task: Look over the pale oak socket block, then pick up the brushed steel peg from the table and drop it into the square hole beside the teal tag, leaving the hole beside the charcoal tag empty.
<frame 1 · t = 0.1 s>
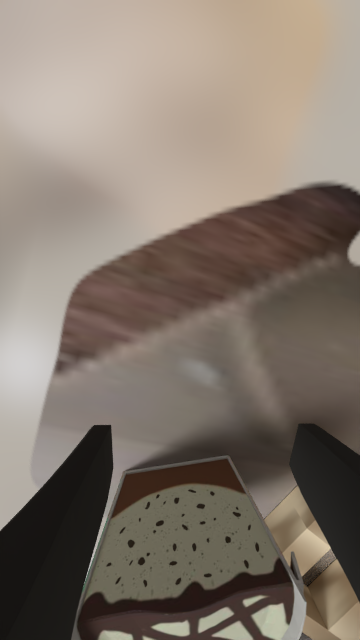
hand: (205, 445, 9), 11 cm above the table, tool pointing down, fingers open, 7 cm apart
socket block: (354, 574, 24), on the table
food container: (180, 491, 21), on the table
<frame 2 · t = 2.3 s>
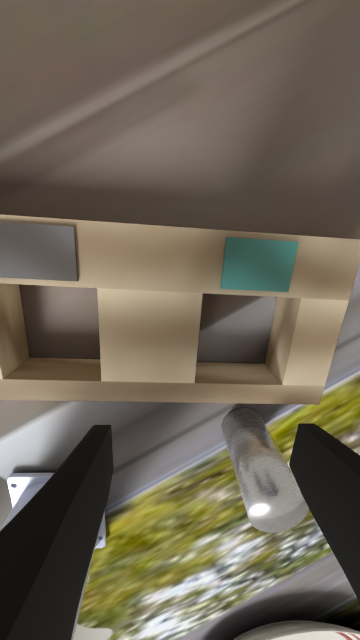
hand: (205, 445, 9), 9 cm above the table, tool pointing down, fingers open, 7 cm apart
socket block: (152, 310, 17), on the table
steel peg: (241, 425, 20), on the table
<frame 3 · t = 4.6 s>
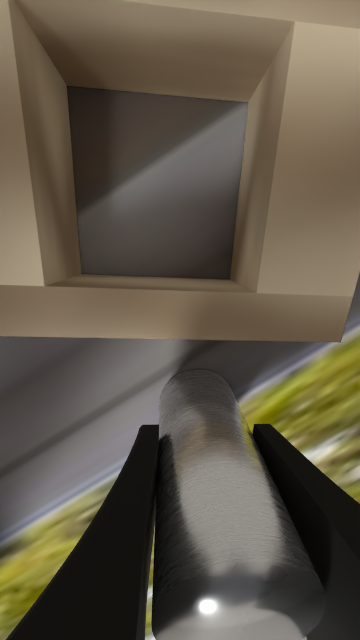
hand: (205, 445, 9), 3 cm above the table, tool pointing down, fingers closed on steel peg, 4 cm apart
steel peg: (196, 402, 11), on the table, touching gripper
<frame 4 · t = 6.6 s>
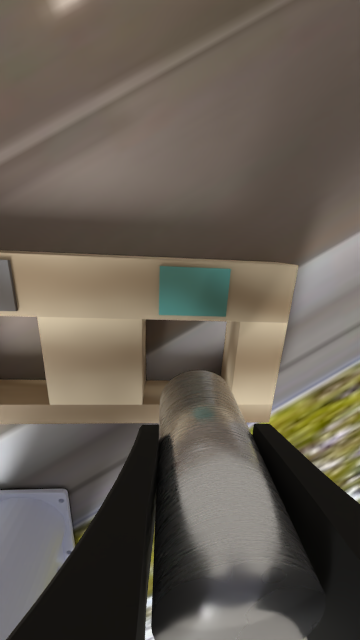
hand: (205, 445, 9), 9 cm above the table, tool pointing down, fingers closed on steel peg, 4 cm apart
socket block: (104, 332, 17), on the table
steel peg: (196, 402, 11), point 7 cm above the table, touching gripper
when the fingers open (4 cm above the table, at t = 8.7 s): steel peg drops 1 cm, resting in socket block.
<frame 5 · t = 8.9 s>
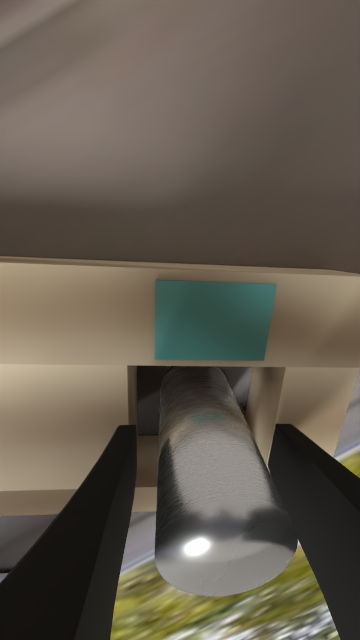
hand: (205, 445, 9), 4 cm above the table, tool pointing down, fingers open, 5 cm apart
socket block: (76, 371, 12), on the table
steel peg: (194, 389, 13), resting in socket block
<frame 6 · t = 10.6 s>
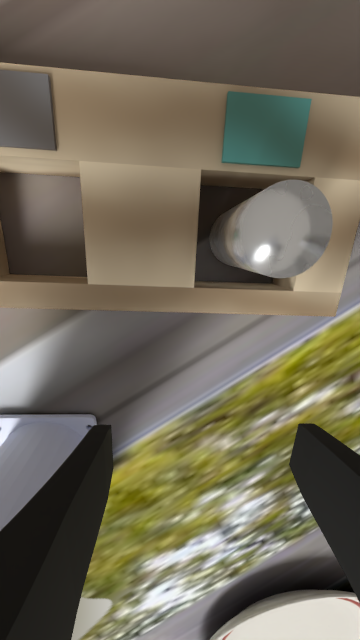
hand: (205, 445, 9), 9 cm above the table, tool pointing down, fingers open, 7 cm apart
dinner plate: (287, 626, 32), on the table
socket block: (145, 216, 15), on the table
steel peg: (235, 238, 16), resting in socket block
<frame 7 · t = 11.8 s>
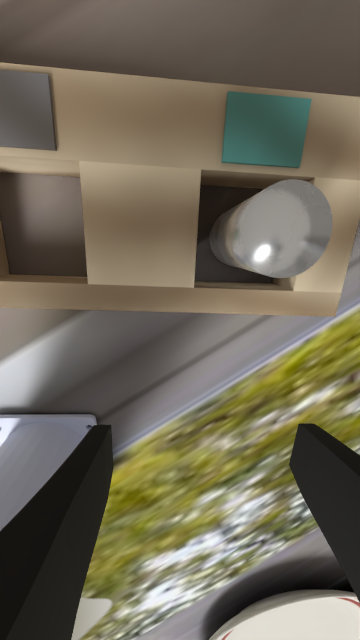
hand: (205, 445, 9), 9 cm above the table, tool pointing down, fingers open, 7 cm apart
dinner plate: (287, 626, 32), on the table
socket block: (145, 216, 15), on the table
steel peg: (235, 238, 16), resting in socket block
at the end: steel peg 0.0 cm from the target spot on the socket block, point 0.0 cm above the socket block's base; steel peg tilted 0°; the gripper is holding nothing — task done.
